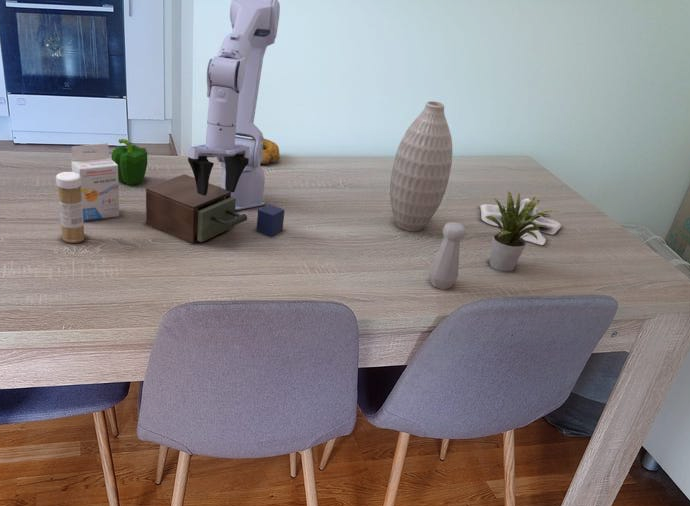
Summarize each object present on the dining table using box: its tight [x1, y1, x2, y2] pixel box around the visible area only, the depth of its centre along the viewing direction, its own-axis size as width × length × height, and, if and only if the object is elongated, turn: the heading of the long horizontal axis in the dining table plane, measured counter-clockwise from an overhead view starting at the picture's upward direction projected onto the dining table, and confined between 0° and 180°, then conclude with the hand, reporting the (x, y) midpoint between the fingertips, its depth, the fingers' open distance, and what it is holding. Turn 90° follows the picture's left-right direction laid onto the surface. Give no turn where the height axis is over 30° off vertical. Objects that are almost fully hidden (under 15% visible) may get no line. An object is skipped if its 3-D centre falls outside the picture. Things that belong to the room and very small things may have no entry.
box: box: [255, 203, 285, 237], centre depth 155 cm, size 4×4×5 cm
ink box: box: [70, 142, 120, 222], centre depth 150 cm, size 8×5×15 cm, turn 123°
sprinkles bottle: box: [55, 171, 86, 244], centre depth 140 cm, size 5×5×14 cm
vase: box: [389, 100, 453, 232], centre depth 158 cm, size 13×13×28 cm
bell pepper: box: [111, 138, 148, 186], centre depth 169 cm, size 8×8×10 cm
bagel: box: [251, 138, 281, 165], centre depth 192 cm, size 10×11×5 cm
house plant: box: [486, 190, 558, 272], centre depth 148 cm, size 14×14×16 cm
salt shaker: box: [428, 221, 467, 290], centre depth 140 cm, size 6×6×13 cm
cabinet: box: [145, 173, 231, 245], centre depth 152 cm, size 13×12×8 cm
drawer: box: [195, 196, 248, 243], centre depth 150 cm, size 17×11×7 cm, turn 56°
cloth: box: [479, 198, 562, 246], centre depth 172 cm, size 22×19×6 cm
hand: (216, 192), depth 144 cm, fingers open, 7 cm apart
